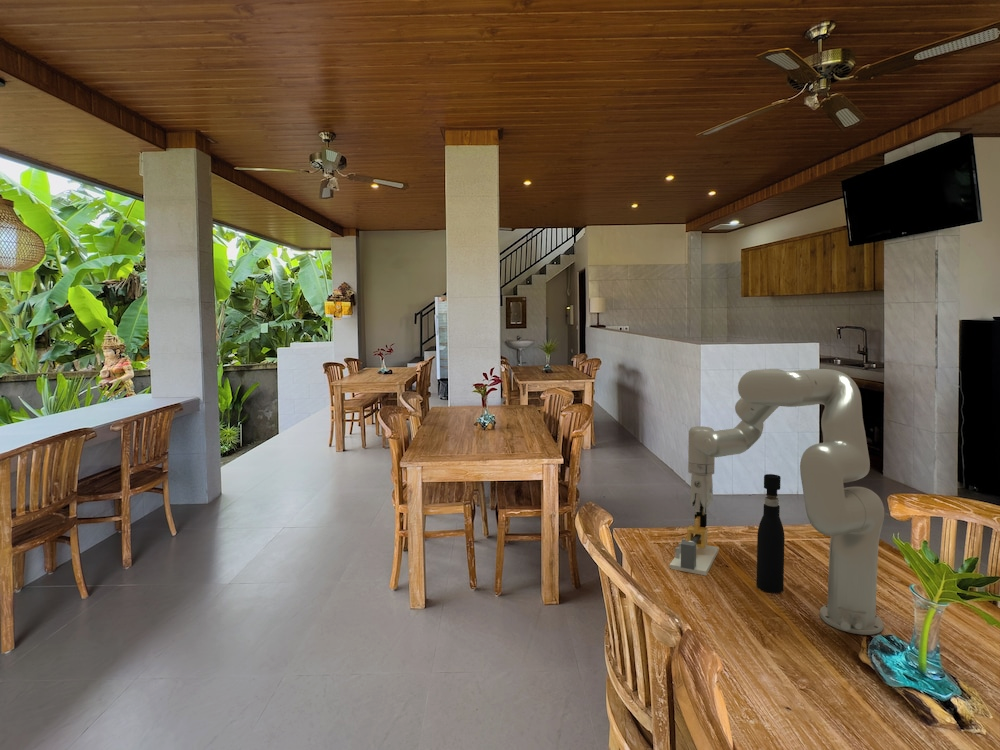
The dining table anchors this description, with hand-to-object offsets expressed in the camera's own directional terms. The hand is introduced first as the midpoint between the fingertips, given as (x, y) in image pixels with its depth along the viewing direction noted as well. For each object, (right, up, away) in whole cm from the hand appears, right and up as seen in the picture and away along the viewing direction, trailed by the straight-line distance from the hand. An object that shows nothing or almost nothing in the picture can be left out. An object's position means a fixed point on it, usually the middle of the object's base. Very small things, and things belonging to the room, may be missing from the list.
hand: (700, 526), depth 177 cm
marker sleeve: (-2, -5, -4) cm, 6 cm away
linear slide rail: (-4, -8, -6) cm, 11 cm away
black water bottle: (+10, -10, -25) cm, 28 cm away
